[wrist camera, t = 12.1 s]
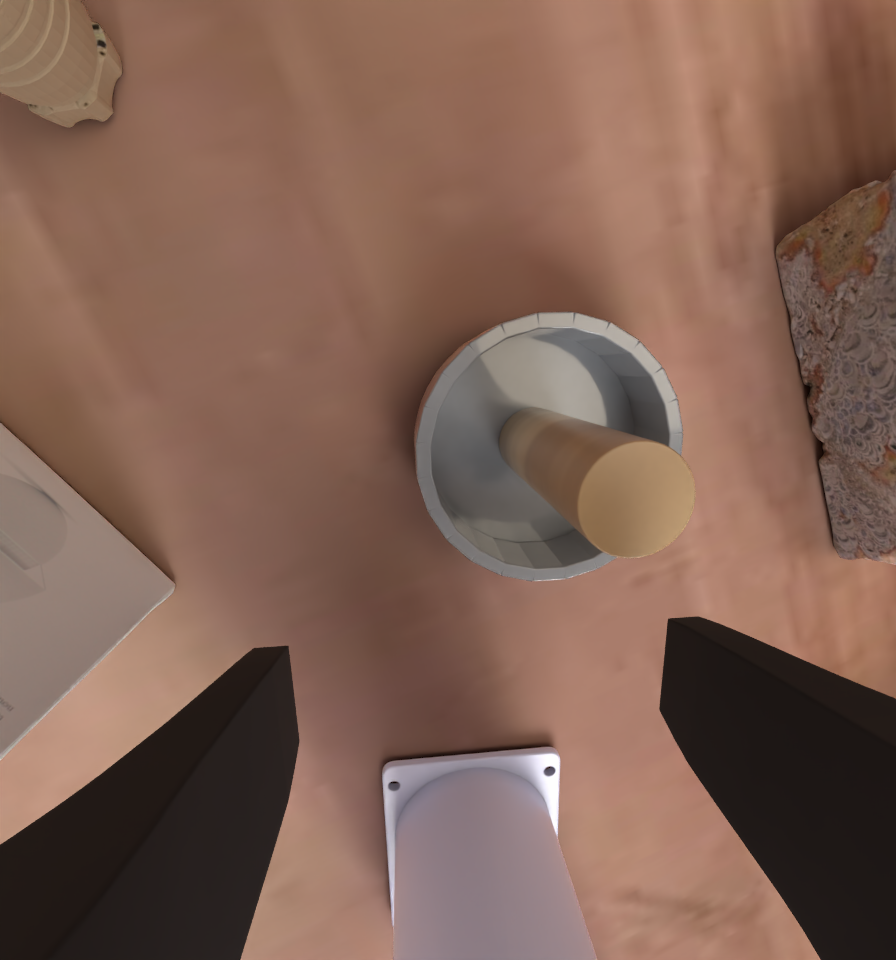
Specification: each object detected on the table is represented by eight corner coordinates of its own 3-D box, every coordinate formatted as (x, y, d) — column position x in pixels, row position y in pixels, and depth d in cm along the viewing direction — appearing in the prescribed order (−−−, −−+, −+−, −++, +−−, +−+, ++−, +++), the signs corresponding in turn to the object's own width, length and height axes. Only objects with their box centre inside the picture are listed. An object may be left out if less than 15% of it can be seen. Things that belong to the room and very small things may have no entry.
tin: (632, 543, 20) (671, 573, 17) (418, 556, 19) (421, 589, 16) (648, 319, 18) (695, 309, 15) (409, 323, 17) (410, 313, 14)
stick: (578, 434, 18) (720, 487, 10) (537, 487, 19) (642, 580, 11) (527, 393, 18) (632, 414, 10) (485, 449, 18) (552, 515, 10)
